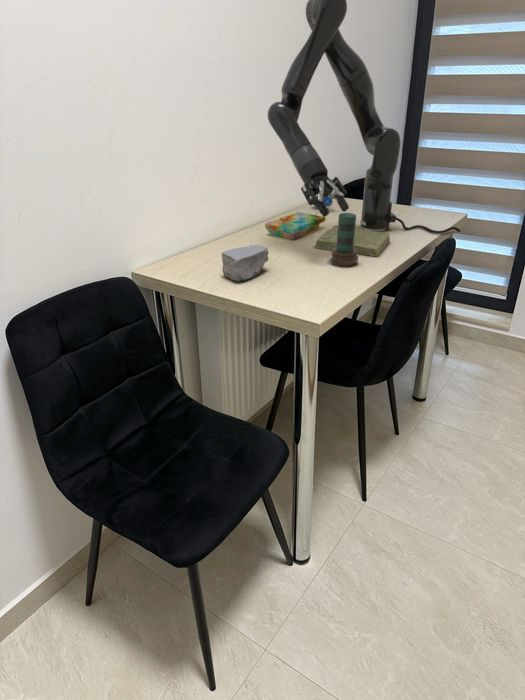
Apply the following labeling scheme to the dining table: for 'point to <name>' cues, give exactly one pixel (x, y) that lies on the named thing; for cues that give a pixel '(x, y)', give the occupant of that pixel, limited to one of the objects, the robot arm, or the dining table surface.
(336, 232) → the decorative tile
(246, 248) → the decorative stone
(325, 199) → the grapes
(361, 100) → the robot arm
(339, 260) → the chip pile
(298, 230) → the puzzle game
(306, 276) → the dining table surface
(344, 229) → the chip column
